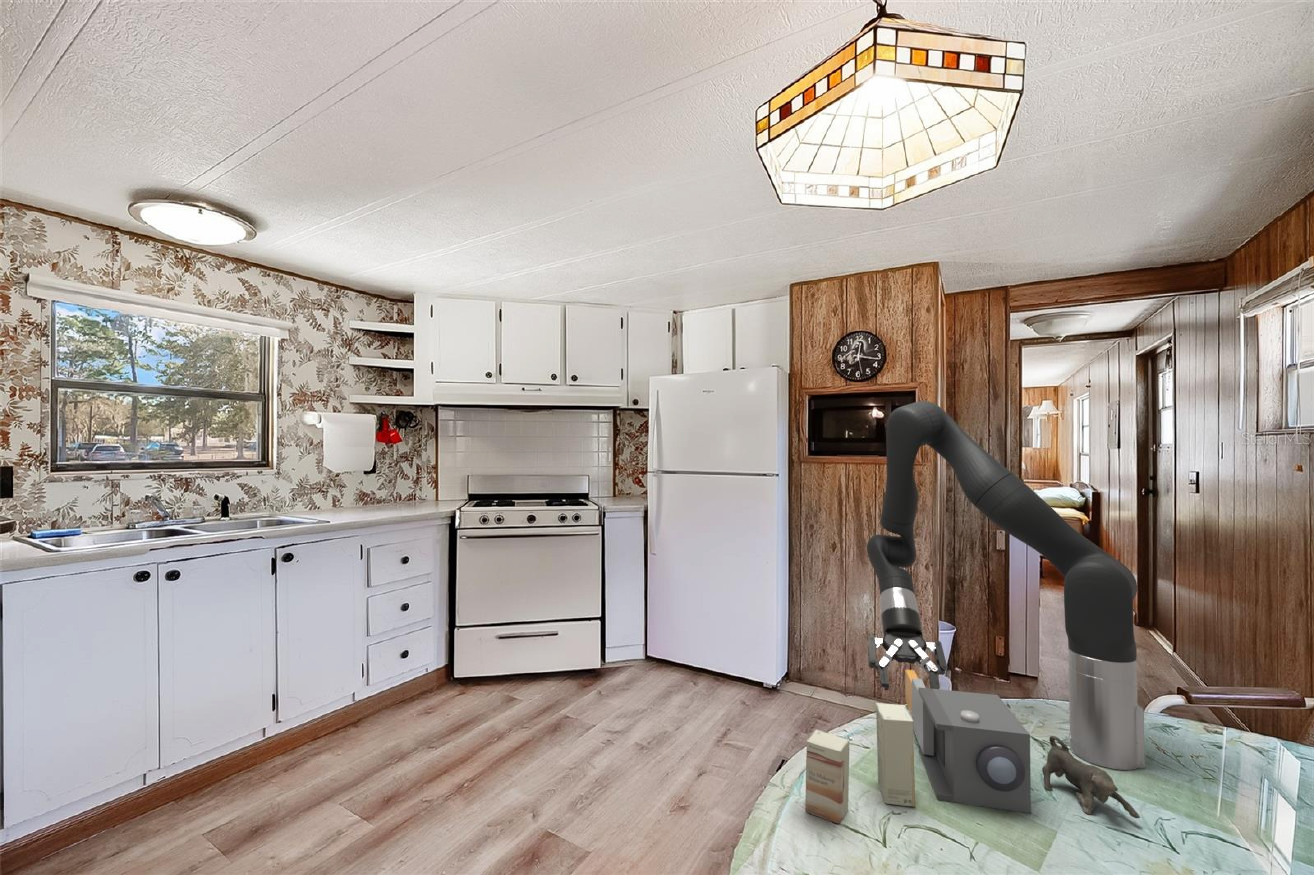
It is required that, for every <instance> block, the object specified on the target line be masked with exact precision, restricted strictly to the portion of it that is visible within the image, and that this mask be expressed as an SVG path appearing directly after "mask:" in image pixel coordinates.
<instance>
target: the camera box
mask: <svg viewBox="0 0 1314 875" xmlns="http://www.w3.org/2000/svg"><path fill="white" fill-rule="evenodd" d="M918 692H919V694H920V696H921V698H922V700H923V702H924V705H925V707H926V709H927V711H928V713H929V715H930V717H931V719H932V721H933V726H934V756H933V755H925V754H923V752H922V750H921V747H918V754H919V756H920V760H921V761H922V764H923V767H924V769H925V773H926V774H927V777H928V779H929V783H930V785H931V787H932V790H933V792H934V796H935V797H936V800H937V801H942V802H943V801H944V802H950V803H955V804H956V803H957V804H963V805H970V806H977V807H985V808H991V809H997V810H998V809H999V810H1005V811H1012V812H1013V811H1014V812H1020V813H1025V814H1032V794H1031V793H1032V792H1031V790H1032V788H1031V785H1032V784H1031V783H1032V782H1031V779H1032V778H1031V734H1030V732H1028V730H1027V729H1026V728H1025V727H1024V725H1023V723H1021V722H1020V721H1019V719H1018V718H1017V717H1016V716H1015V715H1014V713H1013V711H1011V709H1010V708H1009V707H1008V705H1007V704H1006V703H1005V702H1004V701H1003V699H1002V698H1001V697H1000V696H999V695H998V694H990V693H980V692H969V691H960V690H959V691H958V690H950V689H949V690H948V689H941V688H940V689H931V688H929V687H928V688H927V687H926V688H920V687H918Z"/></svg>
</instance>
